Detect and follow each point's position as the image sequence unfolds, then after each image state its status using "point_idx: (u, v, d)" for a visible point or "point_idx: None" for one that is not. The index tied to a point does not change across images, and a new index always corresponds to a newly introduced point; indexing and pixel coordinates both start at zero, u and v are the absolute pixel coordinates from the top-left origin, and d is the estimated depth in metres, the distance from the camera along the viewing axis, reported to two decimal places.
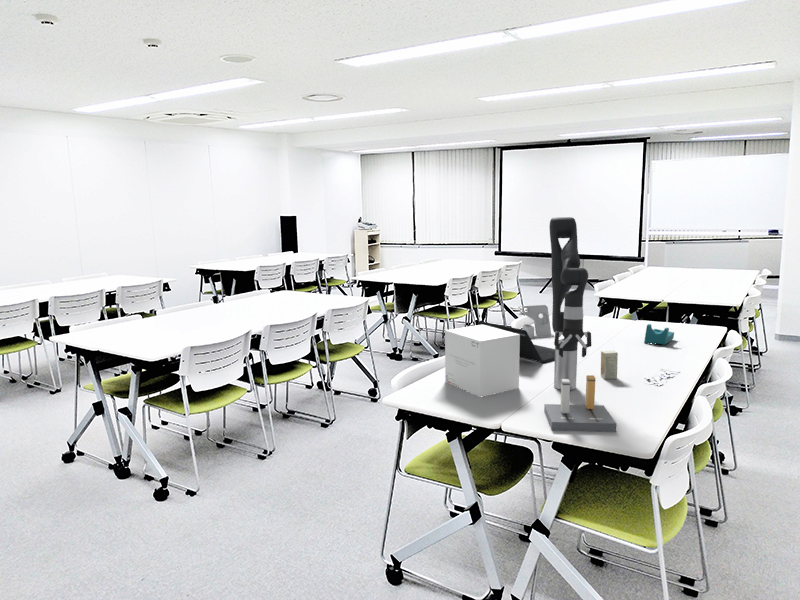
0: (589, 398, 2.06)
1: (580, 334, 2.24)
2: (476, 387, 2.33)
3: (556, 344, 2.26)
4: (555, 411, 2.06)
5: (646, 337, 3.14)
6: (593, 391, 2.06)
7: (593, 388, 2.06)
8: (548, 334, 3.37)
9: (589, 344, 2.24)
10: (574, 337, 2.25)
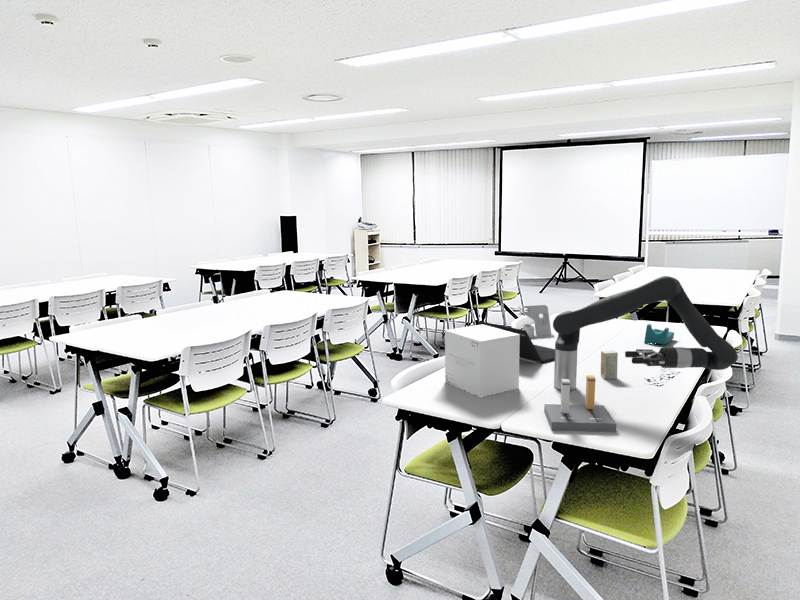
0: (589, 398, 2.06)
1: None
2: (476, 387, 2.33)
3: None
4: (555, 411, 2.06)
5: (646, 337, 3.14)
6: (593, 391, 2.06)
7: (593, 388, 2.06)
8: (548, 334, 3.37)
9: None
10: None
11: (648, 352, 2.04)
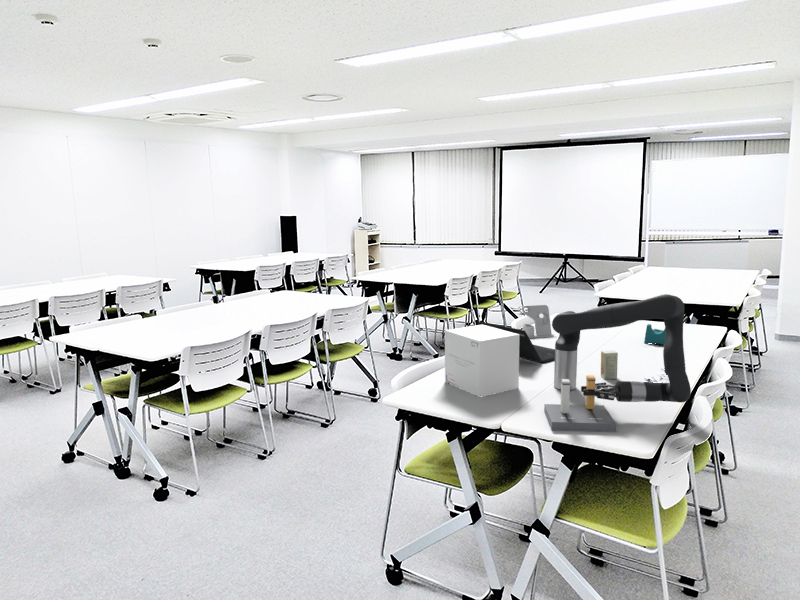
0: (589, 398, 2.06)
1: None
2: (476, 387, 2.33)
3: None
4: (555, 411, 2.06)
5: (646, 337, 3.14)
6: None
7: (593, 388, 2.06)
8: (548, 334, 3.37)
9: None
10: None
11: (605, 386, 2.07)
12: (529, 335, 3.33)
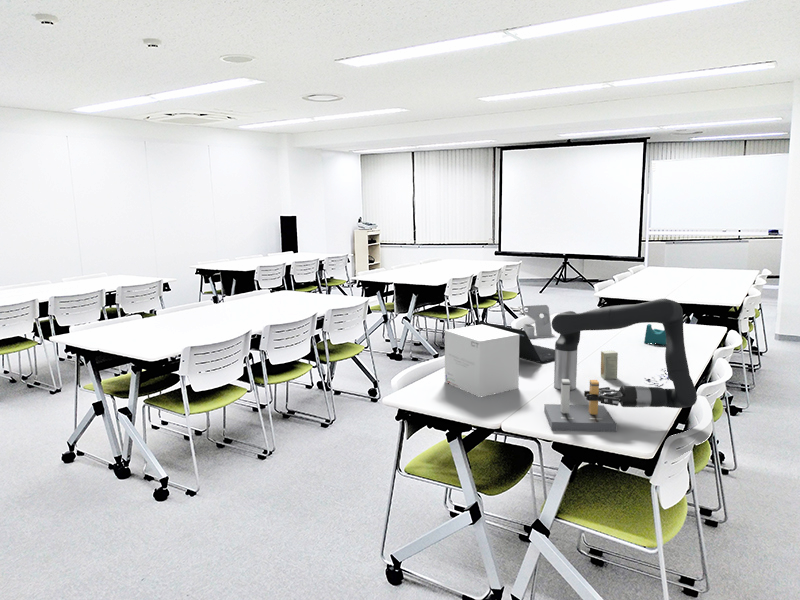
0: (593, 404, 2.01)
1: None
2: (476, 387, 2.33)
3: None
4: (555, 411, 2.06)
5: (646, 337, 3.14)
6: None
7: (597, 393, 2.00)
8: (549, 334, 3.37)
9: None
10: None
11: (609, 391, 2.02)
12: (529, 335, 3.33)
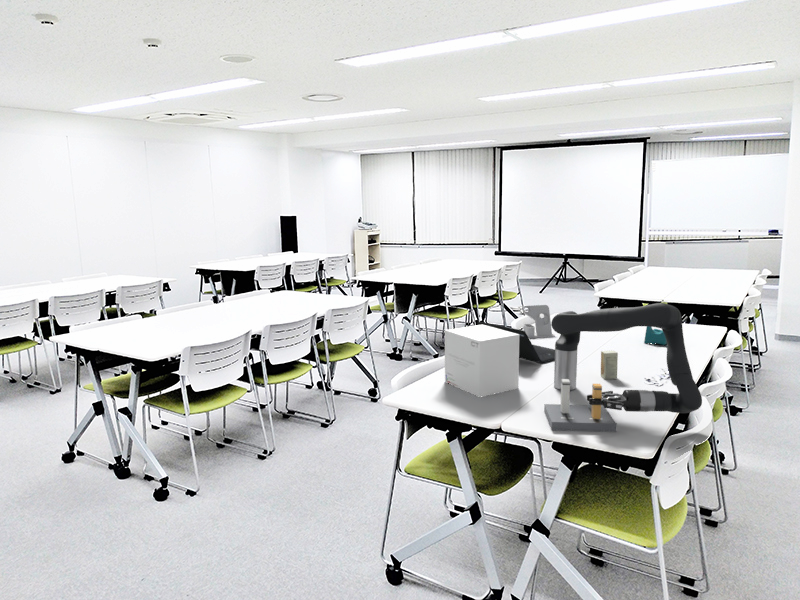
0: (595, 408, 1.97)
1: None
2: (476, 387, 2.33)
3: None
4: (555, 411, 2.06)
5: (646, 337, 3.14)
6: None
7: (599, 397, 1.96)
8: (549, 334, 3.37)
9: None
10: None
11: (612, 395, 1.98)
12: (529, 335, 3.33)
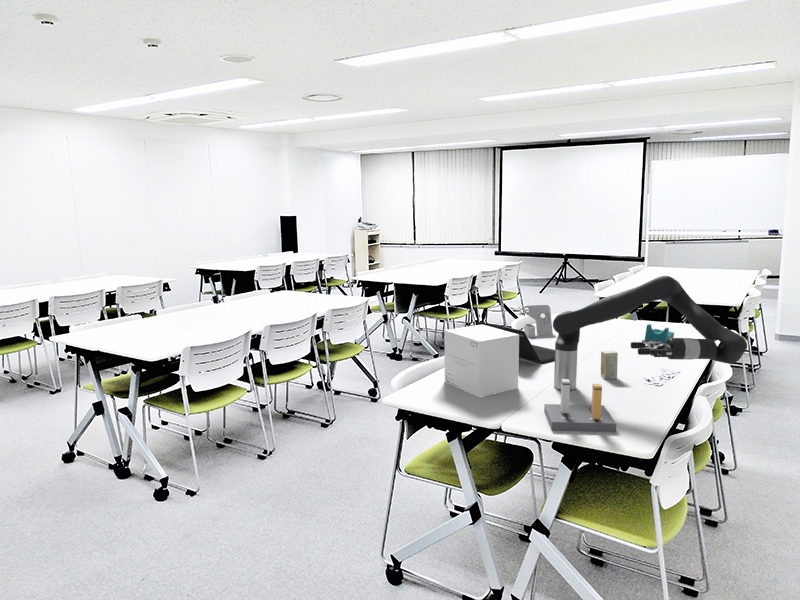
0: (596, 408, 1.97)
1: None
2: (476, 387, 2.33)
3: None
4: (555, 411, 2.06)
5: (646, 337, 3.14)
6: (599, 400, 1.96)
7: (599, 397, 1.96)
8: (549, 334, 3.37)
9: None
10: None
11: (655, 343, 1.98)
12: (530, 335, 3.34)
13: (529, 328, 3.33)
